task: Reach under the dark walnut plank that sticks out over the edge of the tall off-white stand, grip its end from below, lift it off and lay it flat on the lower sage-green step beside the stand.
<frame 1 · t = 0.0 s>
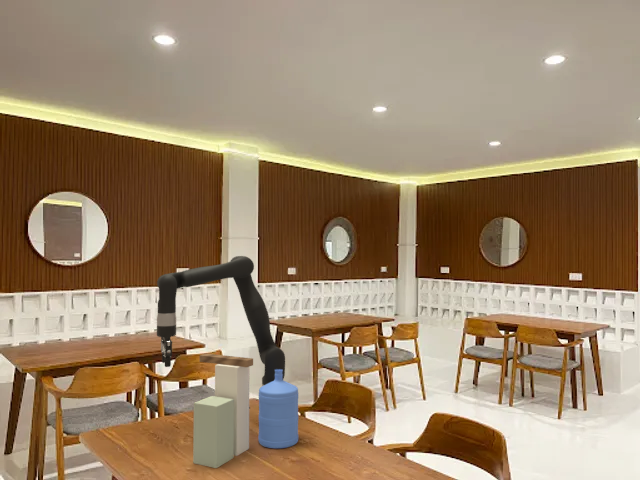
hand: (166, 364, 205), 29 cm above the table, tool pointing down, fingers open, 8 cm apart
sage step: (213, 460, 182), on the table
water jug: (278, 442, 200), on the table
off-white stand: (221, 447, 194), on the table
icecream: (234, 415, 234), on the table
walnut plank: (225, 363, 194), point 32 cm above the table, touching off-white stand
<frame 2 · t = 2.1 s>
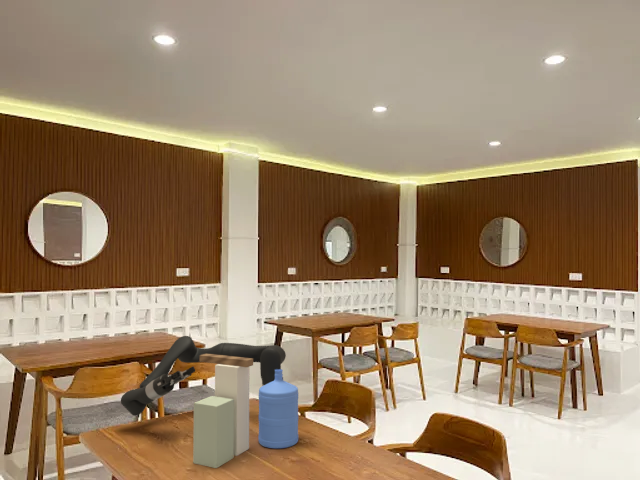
hand: (187, 370, 202), 27 cm above the table, tool pointing upward, fingers open, 8 cm apart
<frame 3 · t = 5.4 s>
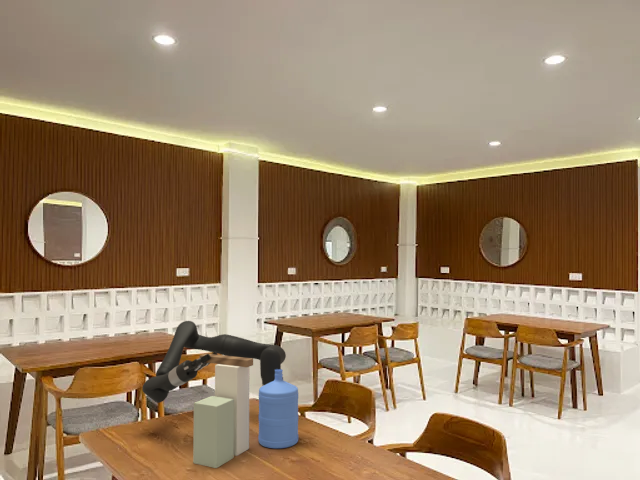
hand: (213, 355, 197), 35 cm above the table, tool pointing upward, fingers closed on walnut plank, 4 cm apart
walnut plank: (225, 363, 194), point 32 cm above the table, touching gripper, off-white stand
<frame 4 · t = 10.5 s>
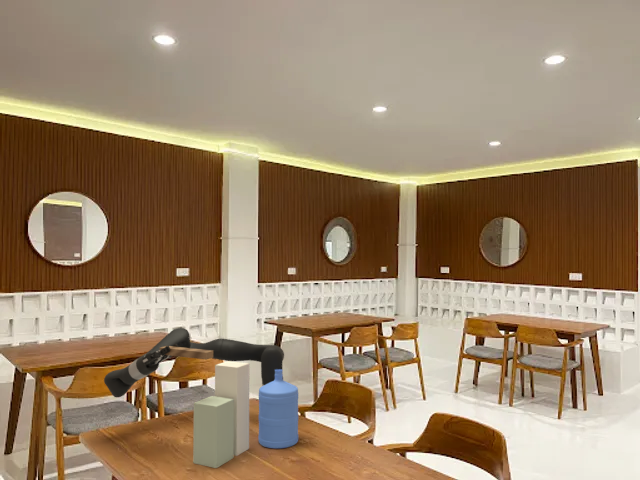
hand: (173, 347, 192), 39 cm above the table, tool pointing upward, fingers closed on walnut plank, 4 cm apart
walnut plank: (185, 355, 189), point 36 cm above the table, touching gripper
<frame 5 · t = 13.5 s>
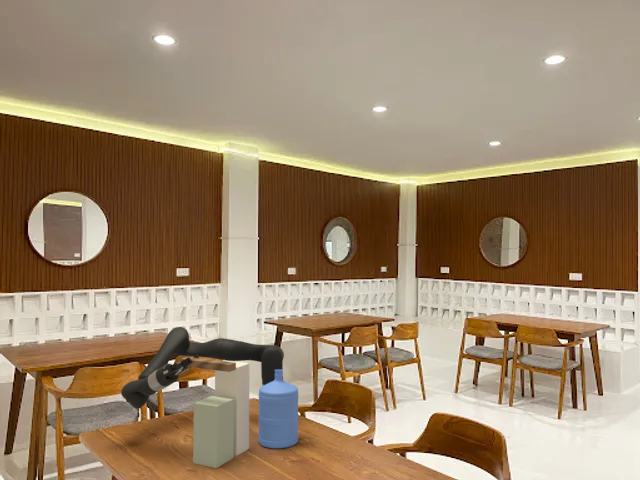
hand: (194, 358, 187), 35 cm above the table, tool pointing upward, fingers closed on walnut plank, 4 cm apart
walnut plank: (207, 367, 184), point 33 cm above the table, touching gripper
when the fingers open (26 cm above the table, at t = 15.9 s): walnut plank drops 2 cm, resting on sage step.
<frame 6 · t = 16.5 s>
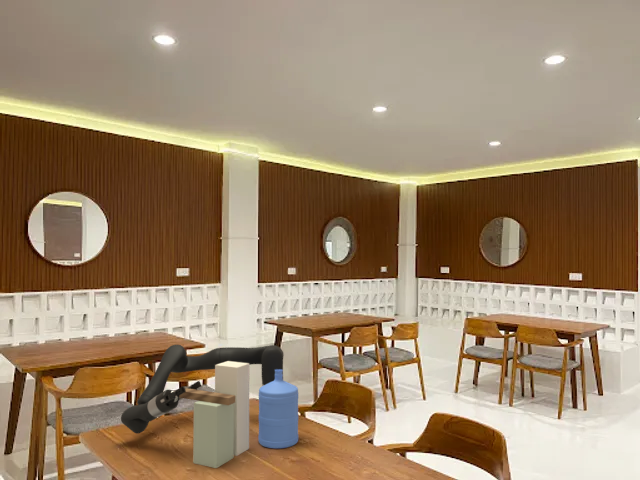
hand: (192, 386, 187), 25 cm above the table, tool pointing upward, fingers open, 8 cm apart
walnut plank: (206, 400, 184), point 21 cm above the table, touching sage step
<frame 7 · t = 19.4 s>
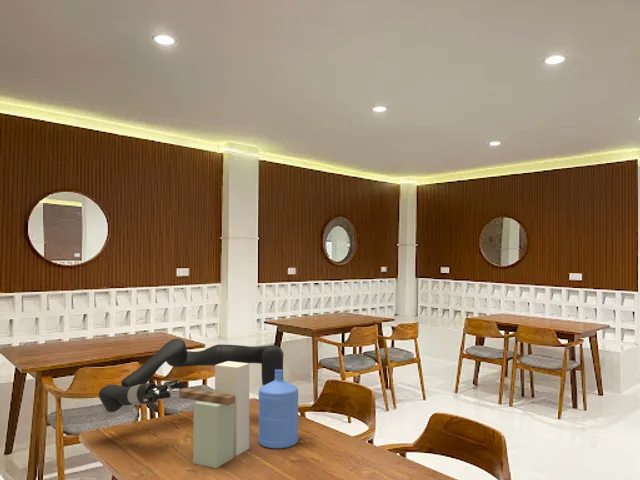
hand: (176, 389, 190), 23 cm above the table, tool horizontal, fingers open, 8 cm apart
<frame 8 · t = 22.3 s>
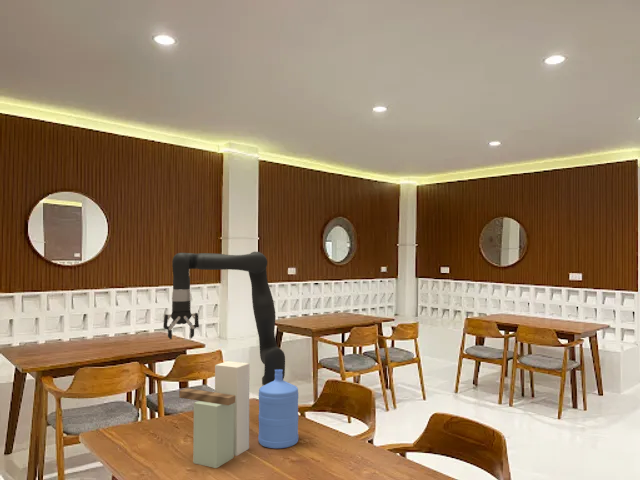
hand: (181, 338, 215), 38 cm above the table, tool pointing down, fingers open, 8 cm apart
at the end: walnut plank inside the target area on the sage step (0.3 cm from its centre), point 21.0 cm above the sage step's base; walnut plank tilted 0°; the gripper is holding nothing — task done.
